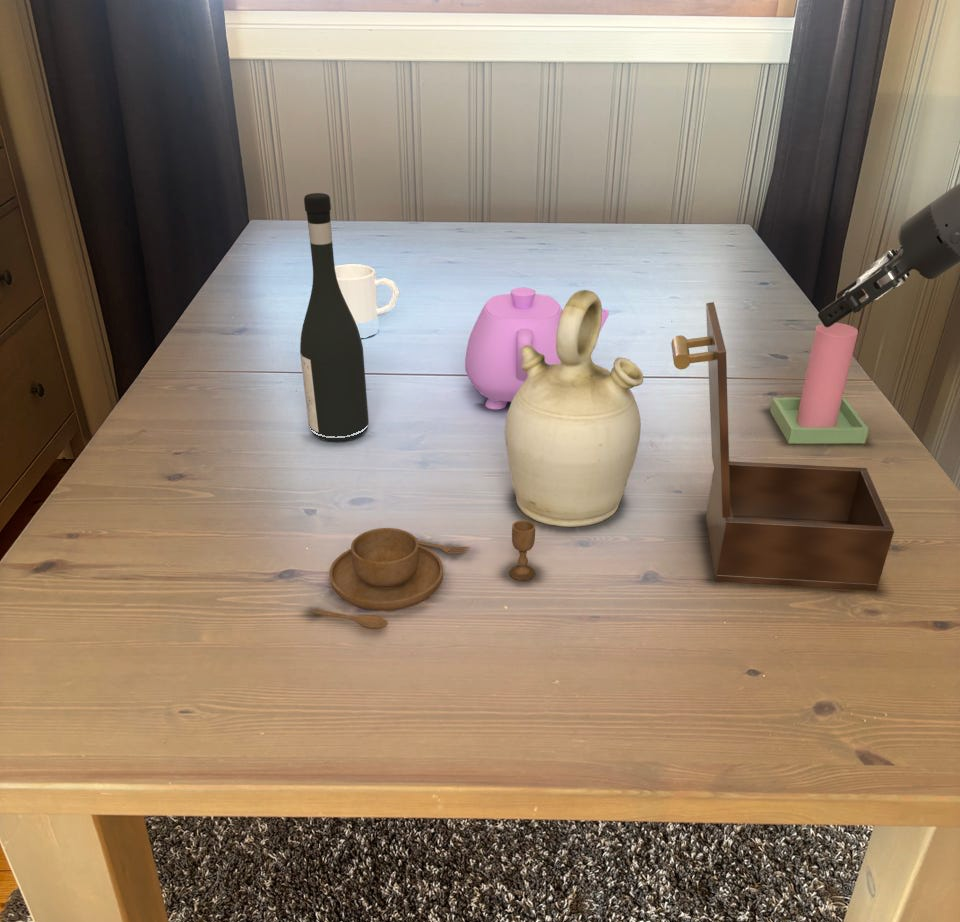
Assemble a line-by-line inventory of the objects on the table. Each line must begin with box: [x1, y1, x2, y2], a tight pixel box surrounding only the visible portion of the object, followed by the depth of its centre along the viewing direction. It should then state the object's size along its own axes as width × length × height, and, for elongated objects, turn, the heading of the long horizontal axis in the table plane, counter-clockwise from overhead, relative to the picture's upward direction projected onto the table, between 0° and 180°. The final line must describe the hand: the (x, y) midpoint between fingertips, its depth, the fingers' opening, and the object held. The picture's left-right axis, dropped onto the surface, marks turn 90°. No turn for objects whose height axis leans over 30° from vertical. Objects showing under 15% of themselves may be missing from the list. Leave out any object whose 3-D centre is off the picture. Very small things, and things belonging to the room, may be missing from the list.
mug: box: [334, 263, 401, 324], centre depth 159 cm, size 8×12×10 cm, turn 82°
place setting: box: [310, 519, 536, 629], centre depth 100 cm, size 18×20×6 cm
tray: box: [769, 396, 870, 445], centre depth 132 cm, size 10×10×2 cm
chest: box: [705, 460, 895, 591], centre depth 105 cm, size 17×14×7 cm
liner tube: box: [797, 322, 859, 427], centre depth 129 cm, size 5×5×13 cm
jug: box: [504, 289, 644, 528], centre depth 109 cm, size 15×16×25 cm
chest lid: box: [670, 301, 731, 518], centre depth 99 cm, size 17×14×5 cm
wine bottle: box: [299, 192, 369, 443], centre depth 123 cm, size 8×8×30 cm
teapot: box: [464, 287, 610, 410], centre depth 136 cm, size 20×20×15 cm
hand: (831, 311), depth 124 cm, fingers open, 8 cm apart
